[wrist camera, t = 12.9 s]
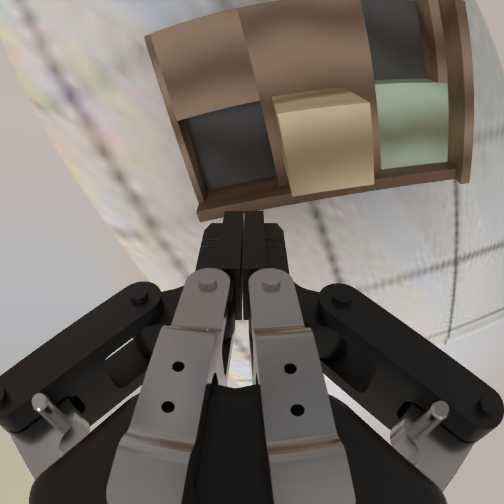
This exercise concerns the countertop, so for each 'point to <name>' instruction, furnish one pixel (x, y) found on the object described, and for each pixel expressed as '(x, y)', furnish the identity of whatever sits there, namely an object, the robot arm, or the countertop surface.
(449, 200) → the countertop surface
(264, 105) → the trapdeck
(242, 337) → the countertop surface
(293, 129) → the block
